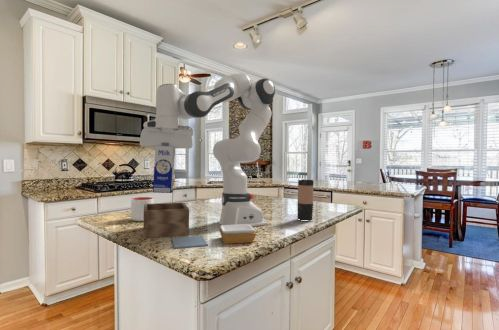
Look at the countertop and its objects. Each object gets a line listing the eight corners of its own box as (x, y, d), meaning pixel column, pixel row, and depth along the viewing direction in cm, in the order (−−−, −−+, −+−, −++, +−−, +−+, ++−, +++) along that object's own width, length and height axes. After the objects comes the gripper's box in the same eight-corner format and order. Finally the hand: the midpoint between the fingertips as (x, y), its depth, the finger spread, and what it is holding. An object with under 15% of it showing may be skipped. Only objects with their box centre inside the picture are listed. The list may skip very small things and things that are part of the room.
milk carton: (173, 192, 115) (175, 143, 117) (171, 193, 109) (174, 141, 110) (154, 191, 114) (157, 142, 116) (152, 192, 108) (155, 140, 109)
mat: (201, 237, 106) (201, 235, 106) (207, 245, 96) (207, 244, 96) (171, 239, 102) (171, 237, 102) (174, 248, 92) (174, 247, 92)
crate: (183, 225, 124) (183, 202, 124) (188, 234, 109) (189, 209, 108) (143, 227, 118) (144, 203, 118) (143, 238, 103) (143, 210, 103)
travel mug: (314, 222, 136) (315, 180, 136) (298, 221, 137) (299, 180, 136) (310, 218, 144) (311, 179, 144) (295, 218, 144) (296, 179, 144)
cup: (126, 219, 133) (126, 198, 132) (145, 216, 141) (145, 196, 141) (139, 222, 127) (139, 200, 127) (157, 219, 135) (158, 198, 135)
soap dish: (250, 236, 109) (250, 223, 109) (256, 244, 100) (256, 229, 100) (218, 237, 107) (218, 224, 107) (221, 245, 97) (221, 230, 97)
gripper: (192, 127, 119) (191, 159, 120) (140, 124, 112) (139, 158, 112) (194, 125, 113) (193, 159, 114) (139, 122, 106) (139, 159, 107)
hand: (166, 159), depth 113 cm, fingers closed, pressing on milk carton
